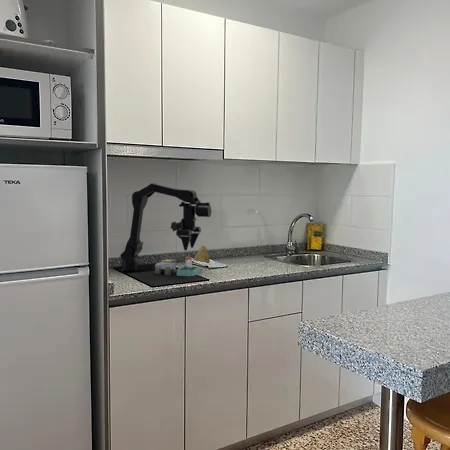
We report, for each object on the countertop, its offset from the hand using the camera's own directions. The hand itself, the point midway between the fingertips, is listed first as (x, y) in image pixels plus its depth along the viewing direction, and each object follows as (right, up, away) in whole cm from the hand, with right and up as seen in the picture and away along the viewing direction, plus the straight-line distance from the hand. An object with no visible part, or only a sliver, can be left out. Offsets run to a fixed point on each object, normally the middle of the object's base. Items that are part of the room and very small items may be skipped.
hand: (188, 248), depth 216 cm
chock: (-11, -11, +13) cm, 20 cm away
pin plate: (+3, -11, +13) cm, 17 cm away
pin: (0, -12, +1) cm, 12 cm away
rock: (+4, -10, +31) cm, 33 cm away
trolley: (-11, -12, +2) cm, 17 cm away
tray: (0, -12, +1) cm, 12 cm away
